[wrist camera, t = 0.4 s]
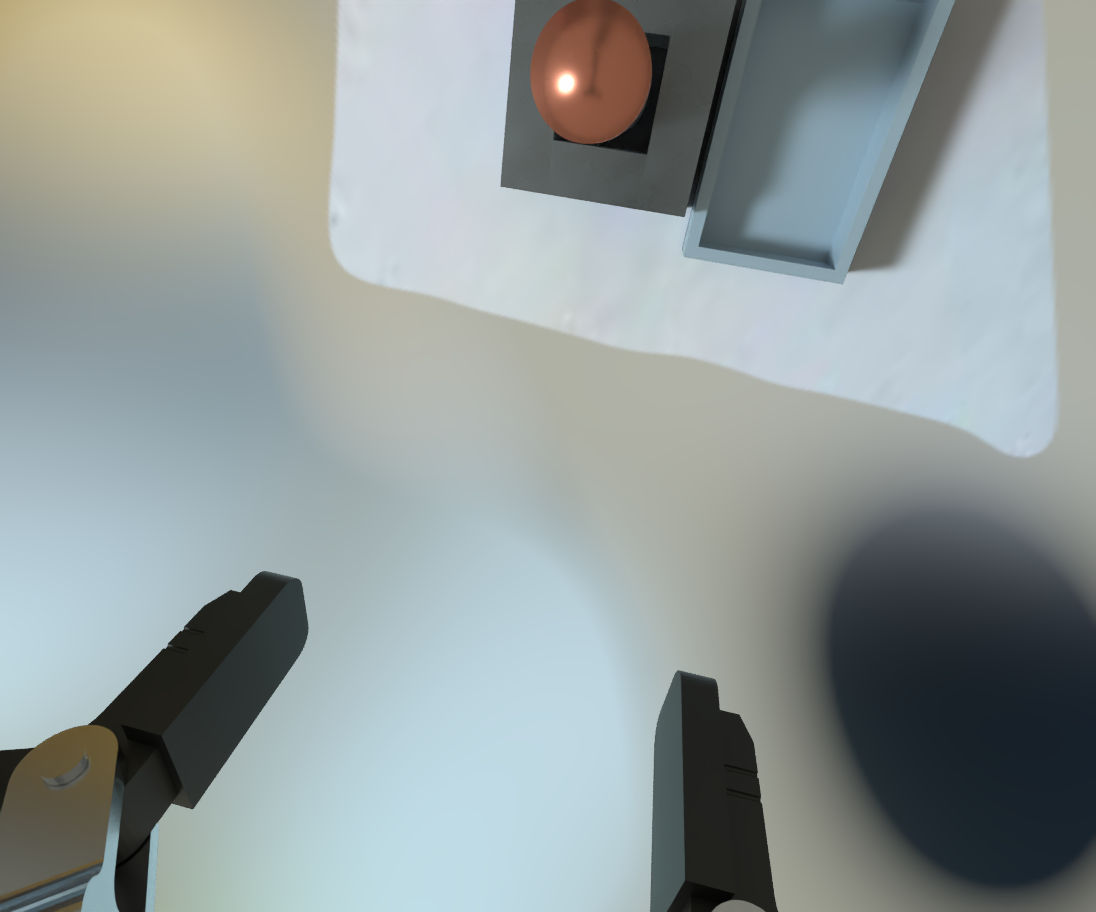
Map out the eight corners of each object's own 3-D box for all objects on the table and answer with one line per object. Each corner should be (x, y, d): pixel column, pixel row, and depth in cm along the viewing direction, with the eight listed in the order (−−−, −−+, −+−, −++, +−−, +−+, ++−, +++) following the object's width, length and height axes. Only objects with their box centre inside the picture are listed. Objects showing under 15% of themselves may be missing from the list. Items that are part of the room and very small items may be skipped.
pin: (582, 42, 27) (537, -11, 18) (664, 53, 27) (664, 5, 17) (570, 136, 29) (523, 134, 20) (646, 147, 29) (636, 152, 19)
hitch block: (539, -31, 26) (520, -57, 23) (732, -6, 25) (743, -29, 22) (518, 181, 31) (500, 186, 27) (682, 208, 30) (684, 217, 26)
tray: (750, -34, 25) (758, -50, 23) (938, -10, 24) (964, -25, 22) (682, 248, 31) (683, 256, 29) (830, 274, 30) (842, 284, 28)
